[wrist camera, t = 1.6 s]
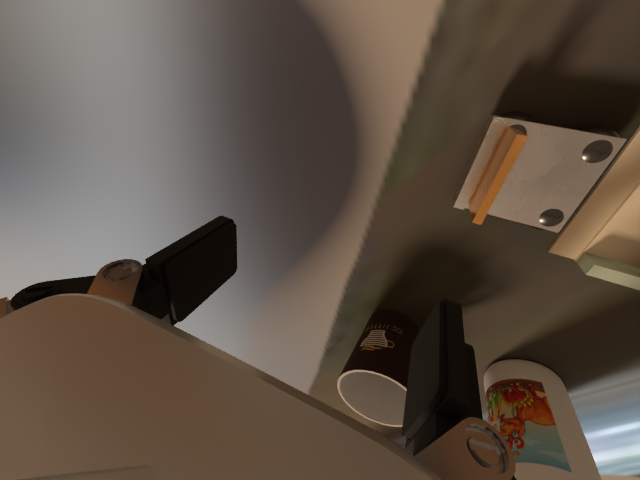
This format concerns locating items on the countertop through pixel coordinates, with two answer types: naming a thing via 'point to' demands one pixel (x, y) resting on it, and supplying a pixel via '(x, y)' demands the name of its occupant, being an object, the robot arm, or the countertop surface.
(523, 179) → the cart
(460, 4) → the countertop surface
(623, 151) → the dock
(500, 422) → the milk bottle
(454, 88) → the countertop surface
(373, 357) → the coffee mug
